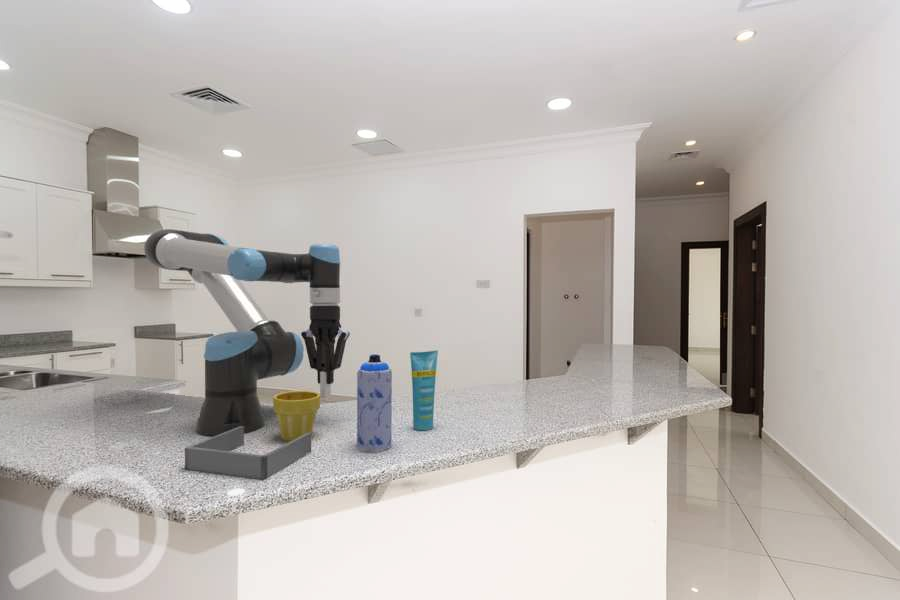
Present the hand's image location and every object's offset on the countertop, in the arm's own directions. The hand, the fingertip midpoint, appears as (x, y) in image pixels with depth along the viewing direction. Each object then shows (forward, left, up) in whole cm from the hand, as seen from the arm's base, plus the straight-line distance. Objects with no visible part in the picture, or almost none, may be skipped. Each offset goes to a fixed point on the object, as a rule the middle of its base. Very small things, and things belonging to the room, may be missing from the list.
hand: (325, 396), depth 117 cm
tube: (+26, +3, -7) cm, 27 cm away
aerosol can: (+20, -13, -7) cm, 25 cm away
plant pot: (0, -12, -7) cm, 14 cm away
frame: (0, -27, -7) cm, 28 cm away
